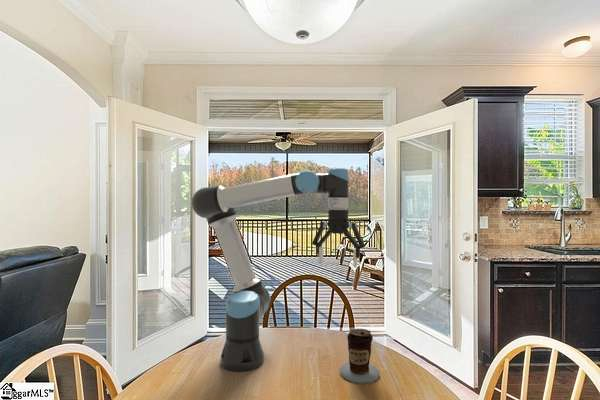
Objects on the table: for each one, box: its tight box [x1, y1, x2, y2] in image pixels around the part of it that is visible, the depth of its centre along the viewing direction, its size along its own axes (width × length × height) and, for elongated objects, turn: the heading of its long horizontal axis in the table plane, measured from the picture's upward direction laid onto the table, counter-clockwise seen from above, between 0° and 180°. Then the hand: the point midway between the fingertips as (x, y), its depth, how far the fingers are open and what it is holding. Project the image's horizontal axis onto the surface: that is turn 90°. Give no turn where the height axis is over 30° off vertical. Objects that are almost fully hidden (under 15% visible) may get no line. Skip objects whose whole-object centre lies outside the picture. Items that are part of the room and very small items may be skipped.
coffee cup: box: [346, 328, 374, 374], centre depth 116 cm, size 9×8×13 cm
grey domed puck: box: [339, 362, 380, 385], centre depth 116 cm, size 13×13×1 cm
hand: (337, 265), depth 132 cm, fingers open, 13 cm apart
